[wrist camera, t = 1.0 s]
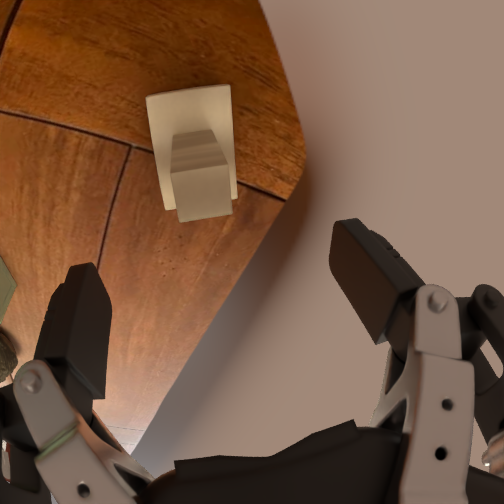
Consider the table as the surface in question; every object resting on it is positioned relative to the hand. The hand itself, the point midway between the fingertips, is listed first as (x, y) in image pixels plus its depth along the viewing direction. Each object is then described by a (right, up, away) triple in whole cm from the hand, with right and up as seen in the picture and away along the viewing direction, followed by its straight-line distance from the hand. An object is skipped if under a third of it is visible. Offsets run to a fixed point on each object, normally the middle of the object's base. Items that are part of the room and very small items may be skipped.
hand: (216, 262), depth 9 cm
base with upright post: (-3, +9, +12) cm, 15 cm away
